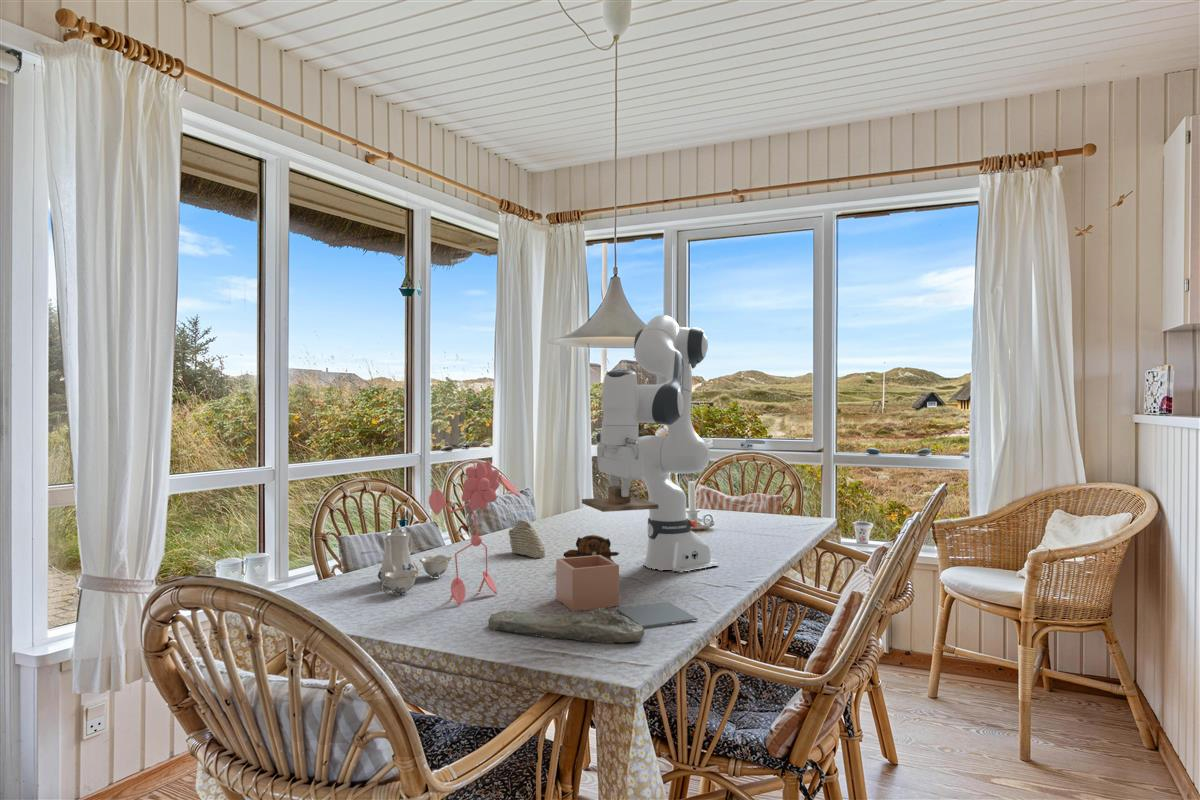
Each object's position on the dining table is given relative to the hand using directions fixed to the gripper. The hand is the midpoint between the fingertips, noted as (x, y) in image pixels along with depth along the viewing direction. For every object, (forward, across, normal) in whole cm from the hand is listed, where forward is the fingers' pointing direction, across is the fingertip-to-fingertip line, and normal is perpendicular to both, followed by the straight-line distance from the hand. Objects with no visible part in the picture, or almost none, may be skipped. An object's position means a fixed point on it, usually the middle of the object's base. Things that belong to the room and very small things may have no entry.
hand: (619, 495), depth 170 cm
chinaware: (+28, +41, +45) cm, 67 cm away
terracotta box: (+27, +8, +5) cm, 29 cm away
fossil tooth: (+28, +64, +5) cm, 70 cm away
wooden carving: (+28, +38, -7) cm, 48 cm away
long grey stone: (+28, -11, +18) cm, 35 cm away
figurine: (+28, +18, +29) cm, 44 cm away
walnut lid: (+3, 0, 0) cm, 3 cm away
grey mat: (+27, -8, -6) cm, 29 cm away
